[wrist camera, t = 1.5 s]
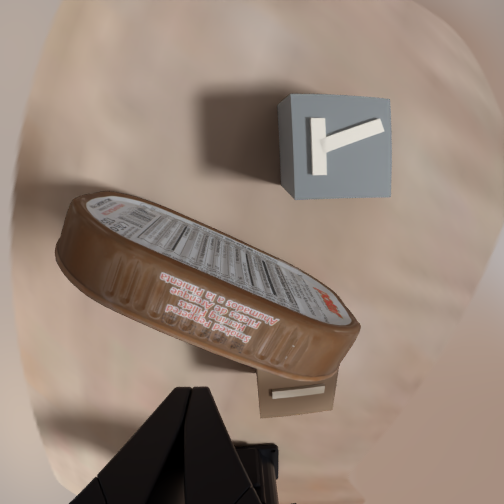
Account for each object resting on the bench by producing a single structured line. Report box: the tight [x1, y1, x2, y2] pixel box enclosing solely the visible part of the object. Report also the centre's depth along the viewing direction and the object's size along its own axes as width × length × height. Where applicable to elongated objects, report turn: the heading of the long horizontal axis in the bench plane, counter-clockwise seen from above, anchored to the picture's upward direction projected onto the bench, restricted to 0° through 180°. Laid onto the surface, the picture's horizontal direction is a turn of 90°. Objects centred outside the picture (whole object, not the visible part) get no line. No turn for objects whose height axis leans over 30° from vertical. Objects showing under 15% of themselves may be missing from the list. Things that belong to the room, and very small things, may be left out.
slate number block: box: [277, 94, 392, 200], centre depth 15 cm, size 4×4×5 cm
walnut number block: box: [256, 369, 338, 418], centre depth 19 cm, size 4×4×5 cm
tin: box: [55, 191, 361, 382], centre depth 15 cm, size 15×3×8 cm, turn 64°
